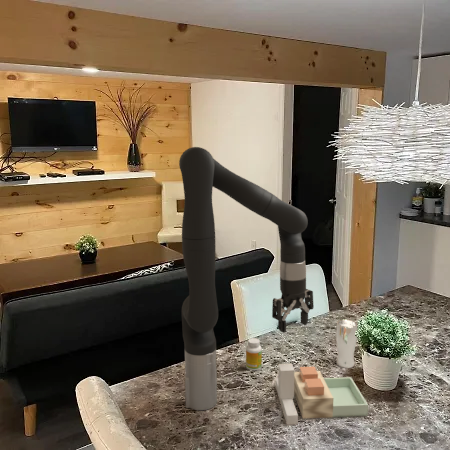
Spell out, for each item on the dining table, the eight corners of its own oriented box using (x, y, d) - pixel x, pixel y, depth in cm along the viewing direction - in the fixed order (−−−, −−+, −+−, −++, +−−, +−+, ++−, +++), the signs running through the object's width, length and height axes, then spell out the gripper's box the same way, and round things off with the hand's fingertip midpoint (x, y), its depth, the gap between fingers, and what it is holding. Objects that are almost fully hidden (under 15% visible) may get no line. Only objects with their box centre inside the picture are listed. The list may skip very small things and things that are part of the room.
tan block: (302, 418, 128) (303, 399, 127) (292, 389, 143) (292, 371, 141) (332, 417, 128) (333, 398, 127) (319, 388, 143) (319, 370, 142)
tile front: (308, 395, 129) (308, 387, 128) (304, 386, 133) (304, 379, 132) (323, 394, 129) (324, 386, 128) (319, 386, 133) (320, 378, 133)
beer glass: (357, 361, 160) (359, 321, 157) (353, 370, 154) (355, 328, 151) (337, 357, 163) (338, 317, 160) (333, 366, 157) (334, 325, 154)
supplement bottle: (260, 371, 154) (260, 344, 152) (244, 369, 155) (244, 343, 153) (262, 363, 159) (262, 337, 157) (247, 362, 160) (247, 336, 158)
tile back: (302, 382, 135) (302, 374, 135) (299, 374, 140) (299, 367, 139) (317, 381, 136) (318, 374, 135) (314, 374, 140) (314, 366, 140)
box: (332, 417, 128) (333, 406, 128) (319, 388, 143) (319, 378, 142) (367, 416, 129) (368, 404, 128) (350, 387, 143) (351, 377, 143)
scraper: (285, 425, 125) (285, 385, 123) (273, 386, 145) (274, 351, 143) (299, 425, 125) (300, 385, 123) (286, 385, 145) (286, 351, 143)
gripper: (301, 268, 139) (302, 318, 142) (265, 277, 132) (266, 330, 135) (319, 273, 133) (319, 325, 136) (283, 283, 125) (283, 338, 128)
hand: (293, 327), depth 135 cm, fingers open, 8 cm apart
